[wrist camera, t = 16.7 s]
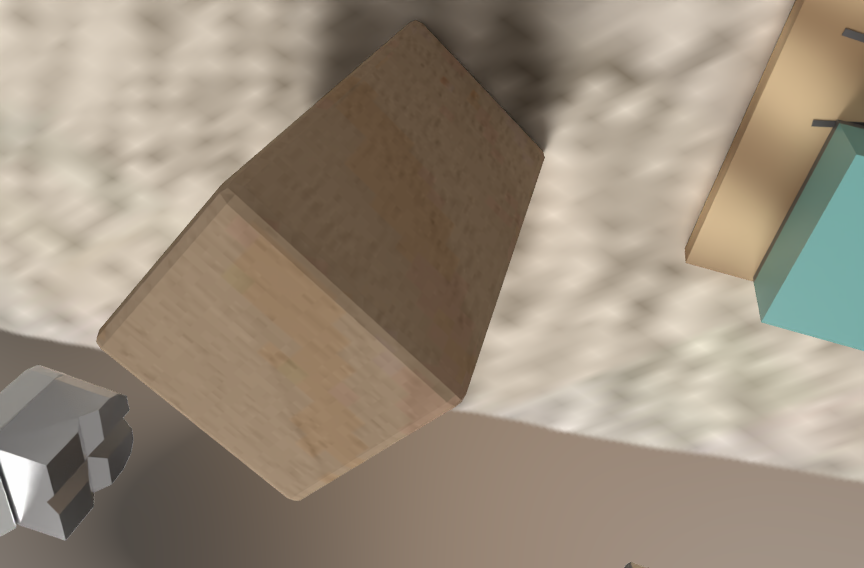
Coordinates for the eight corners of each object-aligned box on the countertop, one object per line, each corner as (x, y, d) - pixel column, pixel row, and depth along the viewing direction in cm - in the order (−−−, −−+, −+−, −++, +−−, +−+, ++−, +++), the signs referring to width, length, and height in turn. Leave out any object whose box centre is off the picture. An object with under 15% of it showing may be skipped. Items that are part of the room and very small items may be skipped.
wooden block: (418, 13, 36) (221, 181, 20) (549, 153, 38) (468, 405, 22) (308, 136, 41) (85, 343, 25) (428, 252, 44) (293, 510, 28)
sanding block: (837, 119, 32) (856, 154, 29) (952, 147, 31) (985, 186, 28) (752, 277, 37) (761, 322, 34) (850, 304, 37) (867, 352, 33)
